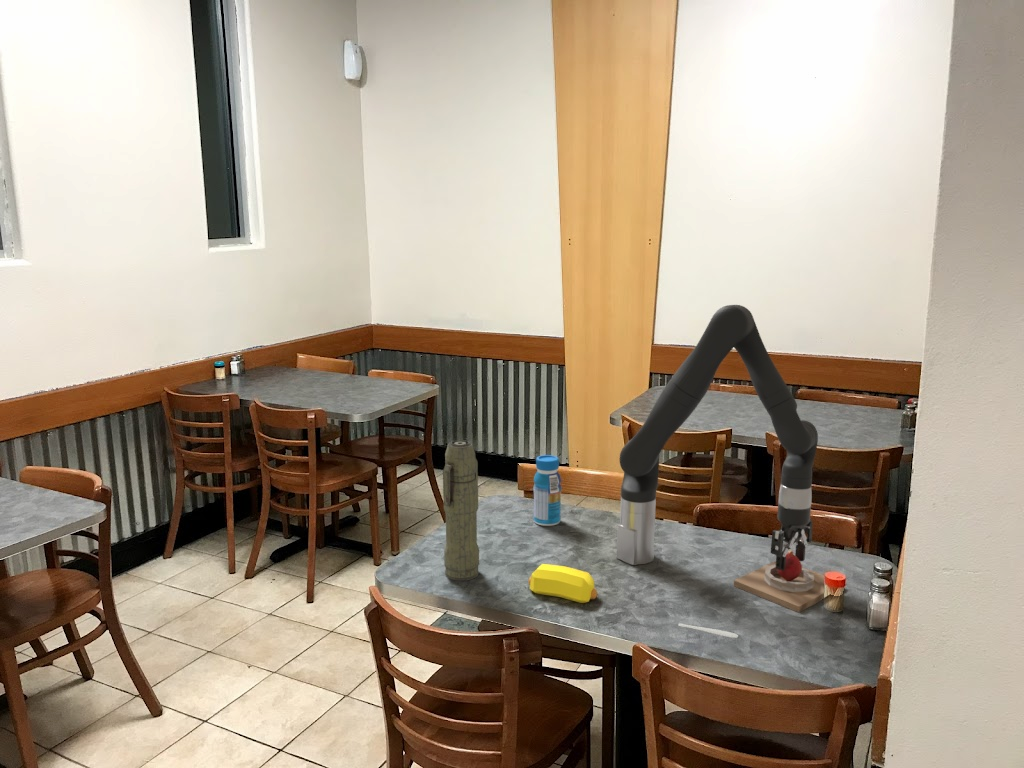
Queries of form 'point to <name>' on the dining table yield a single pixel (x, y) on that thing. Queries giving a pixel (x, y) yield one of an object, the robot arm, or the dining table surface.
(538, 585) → the low-poly banana
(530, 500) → the dining table surface
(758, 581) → the mount board
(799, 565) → the onion
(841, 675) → the dining table surface
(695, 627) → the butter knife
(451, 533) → the thermos
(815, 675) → the dining table surface
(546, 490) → the beverage bottle
